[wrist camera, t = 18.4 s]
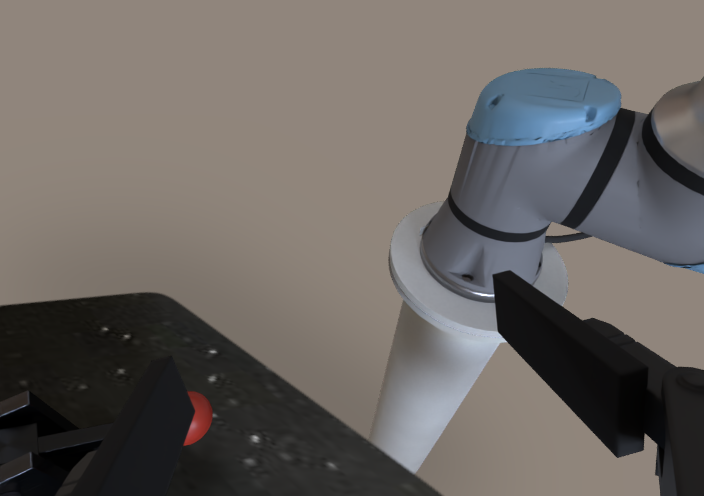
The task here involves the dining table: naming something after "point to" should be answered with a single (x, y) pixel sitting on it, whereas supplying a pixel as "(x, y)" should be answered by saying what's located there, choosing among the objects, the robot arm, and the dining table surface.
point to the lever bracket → (31, 469)
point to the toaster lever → (85, 435)
